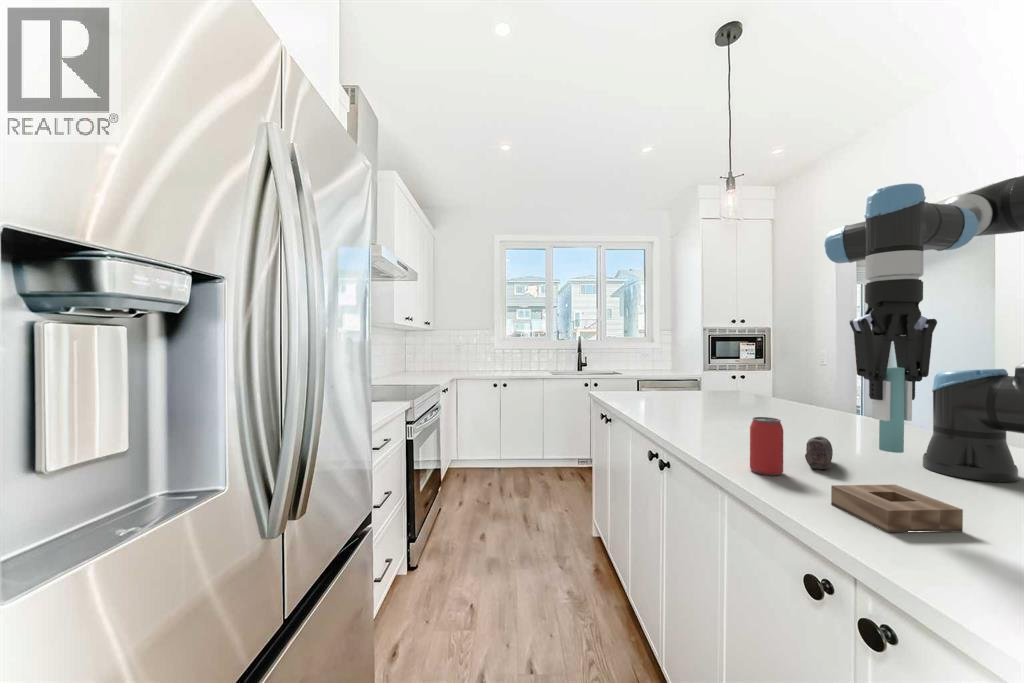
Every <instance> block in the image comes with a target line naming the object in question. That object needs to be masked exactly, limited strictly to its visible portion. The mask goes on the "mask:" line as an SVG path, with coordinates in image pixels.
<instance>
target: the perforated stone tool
mask: <svg viewBox="0 0 1024 683" xmlns="http://www.w3.org/2000/svg"><path fill="white" fill-rule="evenodd" d="M805 448H806V453H805V454H804V458H805V460H806V463H807V464H808V466H809V467H811V468H813V469H816V470H827V468H829V467H830V465H831V463H832V460H833V456H834V455H833V454H834V453H833V451H834V450H833V445H832V443H831V442H830V441H829V439H828V438H827V437H824V436H820V435H819V436H815V437H811V438H809V439H808V440H807V442H806V447H805Z"/></svg>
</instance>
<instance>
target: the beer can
mask: <svg viewBox="0 0 1024 683" xmlns="http://www.w3.org/2000/svg"><path fill="white" fill-rule="evenodd" d="M781 421H782V420H780V419H779V418H775V417H769V416H768V417H767V416H754V417H753V418H752V421H751V423H750V426H749V469H750V470H751V471H752V472H753V473H755V474H757V475H759V474H760V475H763V476H771V477H772V476H774V477H775V476H780V475H782V474H783V472H784V429H783V425H782V423H781Z"/></svg>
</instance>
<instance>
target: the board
mask: <svg viewBox="0 0 1024 683" xmlns="http://www.w3.org/2000/svg"><path fill="white" fill-rule="evenodd" d="M830 492H831V495H830V497H831V498H830V502H831V503H830V504H831V506H834V507H836V508H838V509H839V510H841V511H844V512H845V513H847V512H848V513H847V514H850V515H851V516H853V515H854V516H853V517H855V516H856V517H855V518H857V517H858V518H857V519H859V518H860V519H859V520H861V519H862V520H861V521H863V520H864V521H863V522H865V521H866V522H865V523H867V522H868V523H867V524H869V523H870V525H871V524H872V525H871V526H873V525H874V526H873V527H875V526H876V528H877V527H878V528H877V529H879V528H880V529H879V530H881V529H882V530H881V531H883V530H884V531H883V532H885V531H886V532H885V533H887V532H908V531H963V529H964V527H963V525H964V523H963V520H964V519H963V517H964V514H963V513H964V509H963V508H960V507H957V506H954V505H951V504H949V503H947V502H943V501H940V500H938V499H936V498H933V497H930V496H927V495H924V494H923V493H920V492H917V491H914V490H912V489H911V490H910V489H908V488H905V487H902V486H901V485H897V484H849V485H848V484H846V485H845V484H843V485H841V484H840V485H838V484H837V485H835V484H833V485H832V484H831V491H830Z"/></svg>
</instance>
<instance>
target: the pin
mask: <svg viewBox="0 0 1024 683" xmlns="http://www.w3.org/2000/svg"><path fill="white" fill-rule="evenodd" d="M884 381H889V382H891V386H890V421H884V420H879V419H878V420H879V422H878V423H879V424H878V425H879V427H878V429H879V430H878V431H879V434H878V435H879V436H878V437H879V438H878V450H880V451H883V452H887V453H895V454H897V453H898V454H901V453H904V450H905V420H904V385H905V368H899V367H897V366H896V367H895V366H893V367H892V366H891V367H890V366H888V367H887V373H886V379H885V380H884Z"/></svg>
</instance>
